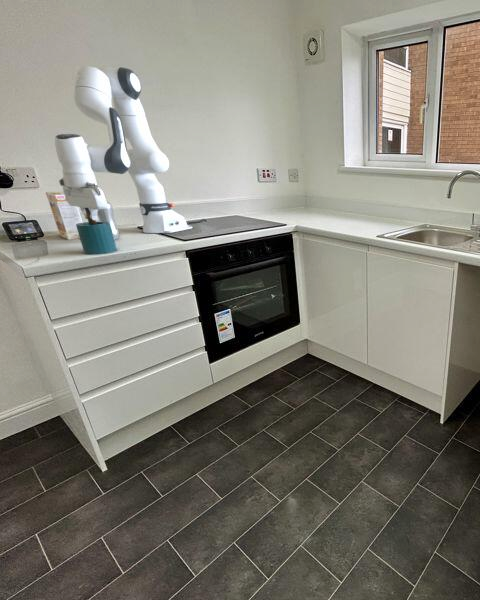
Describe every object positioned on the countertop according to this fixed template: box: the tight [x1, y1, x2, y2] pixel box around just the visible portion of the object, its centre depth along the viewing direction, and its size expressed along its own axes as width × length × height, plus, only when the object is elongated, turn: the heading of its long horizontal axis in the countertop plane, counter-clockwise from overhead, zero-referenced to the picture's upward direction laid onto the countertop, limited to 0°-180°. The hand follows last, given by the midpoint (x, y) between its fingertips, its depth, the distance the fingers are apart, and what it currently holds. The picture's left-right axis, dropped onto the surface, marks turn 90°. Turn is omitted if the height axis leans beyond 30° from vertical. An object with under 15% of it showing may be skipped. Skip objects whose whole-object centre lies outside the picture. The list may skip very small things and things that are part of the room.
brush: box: [85, 208, 97, 225], centre depth 135 cm, size 4×4×16 cm
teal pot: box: [76, 221, 118, 255], centre depth 137 cm, size 10×10×11 cm
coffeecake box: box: [45, 191, 84, 241], centre depth 159 cm, size 15×7×20 cm, turn 53°
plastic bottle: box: [97, 193, 121, 241], centre depth 155 cm, size 6×7×20 cm
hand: (91, 219), depth 135 cm, fingers closed on brush, 2 cm apart
